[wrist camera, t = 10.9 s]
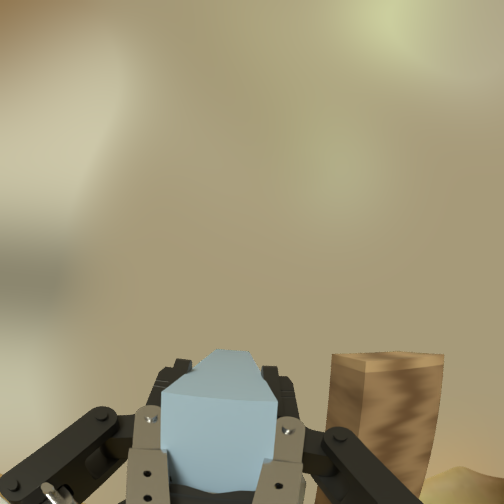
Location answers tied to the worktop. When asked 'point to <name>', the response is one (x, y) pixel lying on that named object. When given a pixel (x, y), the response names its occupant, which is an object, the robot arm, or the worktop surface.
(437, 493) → the worktop surface
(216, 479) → the blue bar
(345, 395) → the walnut stand
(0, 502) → the supplement box
